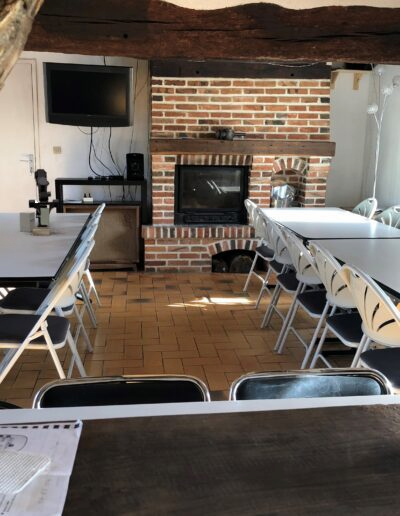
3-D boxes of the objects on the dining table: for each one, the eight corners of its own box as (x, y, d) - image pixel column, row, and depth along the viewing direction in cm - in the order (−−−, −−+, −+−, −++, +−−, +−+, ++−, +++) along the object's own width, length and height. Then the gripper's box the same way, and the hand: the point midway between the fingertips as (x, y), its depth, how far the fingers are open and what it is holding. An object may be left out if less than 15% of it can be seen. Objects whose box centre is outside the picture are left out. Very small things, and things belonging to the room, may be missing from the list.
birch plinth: (34, 233, 351) (34, 227, 350) (50, 233, 353) (50, 227, 352) (32, 236, 341) (32, 230, 340) (49, 236, 343) (48, 230, 342)
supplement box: (30, 232, 352) (29, 213, 349) (19, 231, 353) (19, 212, 351) (35, 230, 359) (35, 211, 356) (25, 229, 361) (24, 211, 358)
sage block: (40, 223, 347) (40, 208, 344) (48, 223, 348) (48, 208, 346) (41, 224, 342) (40, 209, 340) (49, 224, 344) (49, 209, 342)
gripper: (28, 186, 340) (29, 206, 333) (58, 187, 347) (60, 206, 339) (27, 197, 349) (29, 217, 342) (57, 197, 356) (59, 216, 348)
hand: (44, 214), depth 343 cm, fingers closed on sage block, 5 cm apart
